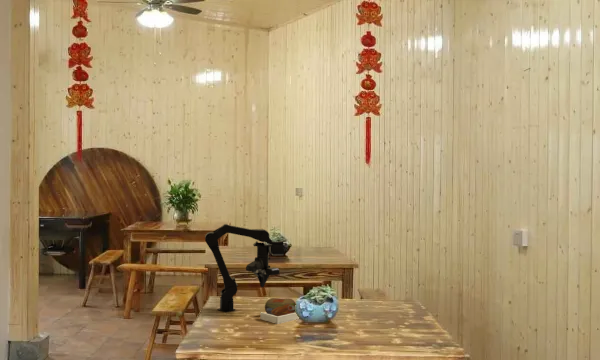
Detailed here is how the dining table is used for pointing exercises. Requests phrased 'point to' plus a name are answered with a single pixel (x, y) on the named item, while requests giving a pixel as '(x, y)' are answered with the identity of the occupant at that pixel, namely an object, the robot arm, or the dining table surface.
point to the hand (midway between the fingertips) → (262, 287)
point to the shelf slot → (278, 317)
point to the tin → (280, 306)
